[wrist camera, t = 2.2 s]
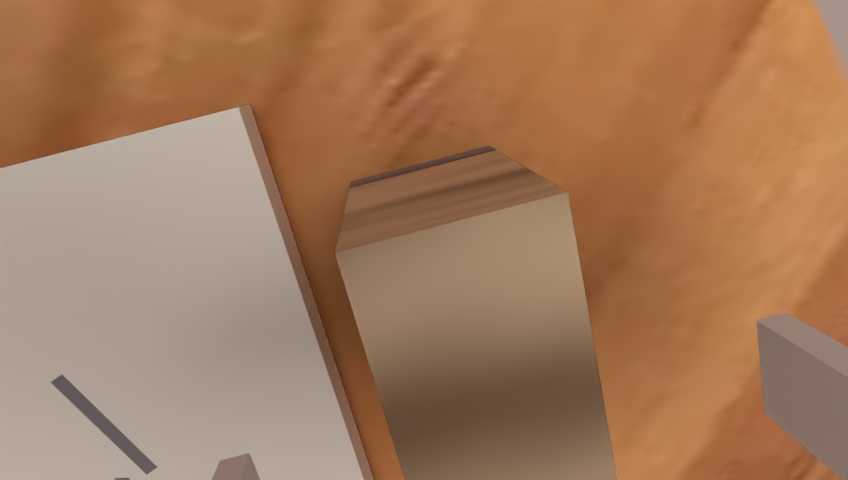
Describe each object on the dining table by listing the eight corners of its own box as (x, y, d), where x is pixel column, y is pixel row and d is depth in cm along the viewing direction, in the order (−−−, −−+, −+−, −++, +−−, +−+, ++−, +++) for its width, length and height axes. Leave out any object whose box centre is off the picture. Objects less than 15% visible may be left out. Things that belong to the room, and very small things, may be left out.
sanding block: (351, 181, 23) (334, 252, 14) (488, 145, 23) (567, 192, 14) (409, 384, 26) (429, 559, 17) (532, 351, 26) (621, 507, 17)
